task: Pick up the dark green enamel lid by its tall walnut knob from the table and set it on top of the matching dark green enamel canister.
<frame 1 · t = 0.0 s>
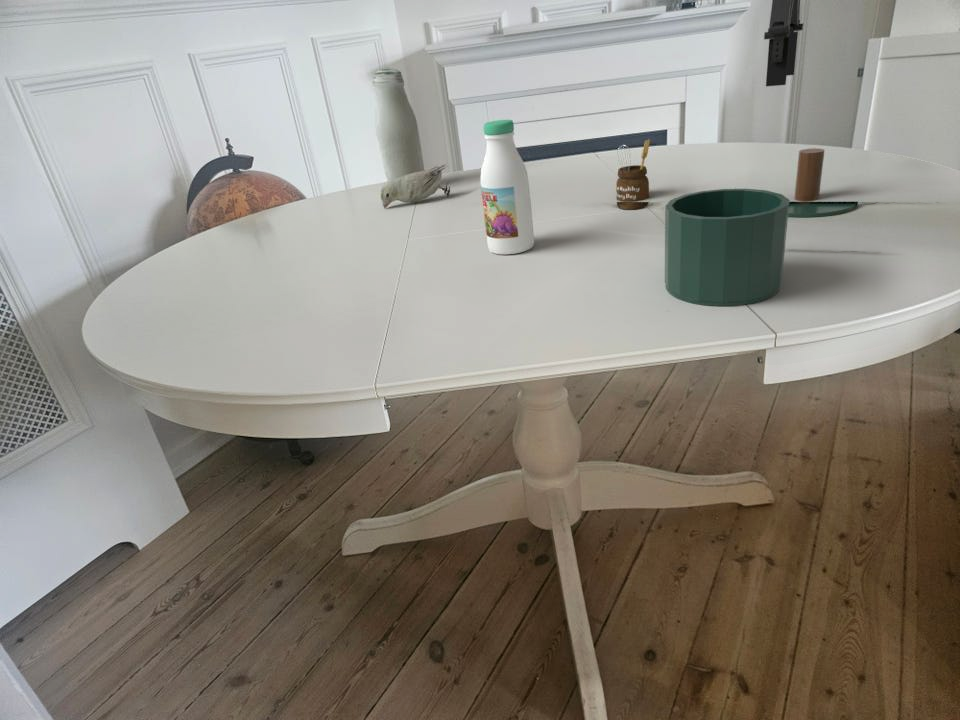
hand: (780, 80, 102), 19 cm above the table, tool pointing down, fingers open, 13 cm apart
milk bottle: (511, 249, 105), on the table
canister: (721, 285, 80), on the table
lid: (805, 204, 103), point 1 cm above the table
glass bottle: (407, 190, 159), on the table
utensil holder: (633, 207, 118), on the table
decorative bird: (417, 203, 145), on the table
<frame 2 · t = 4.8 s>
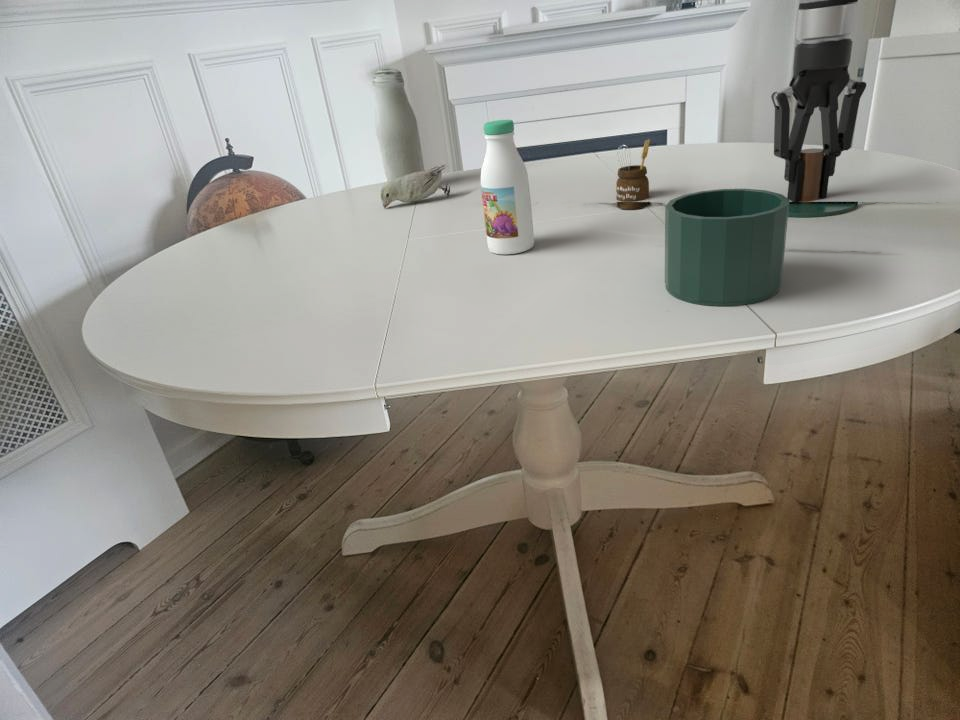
hand: (806, 198, 103), 2 cm above the table, tool pointing down, fingers closed on lid, 4 cm apart
lid: (805, 204, 103), point 1 cm above the table, touching gripper
everything else where it was.
when the fingers open (11 cm above the table, at t = 13.6 s): lid stays where it is, resting on canister.
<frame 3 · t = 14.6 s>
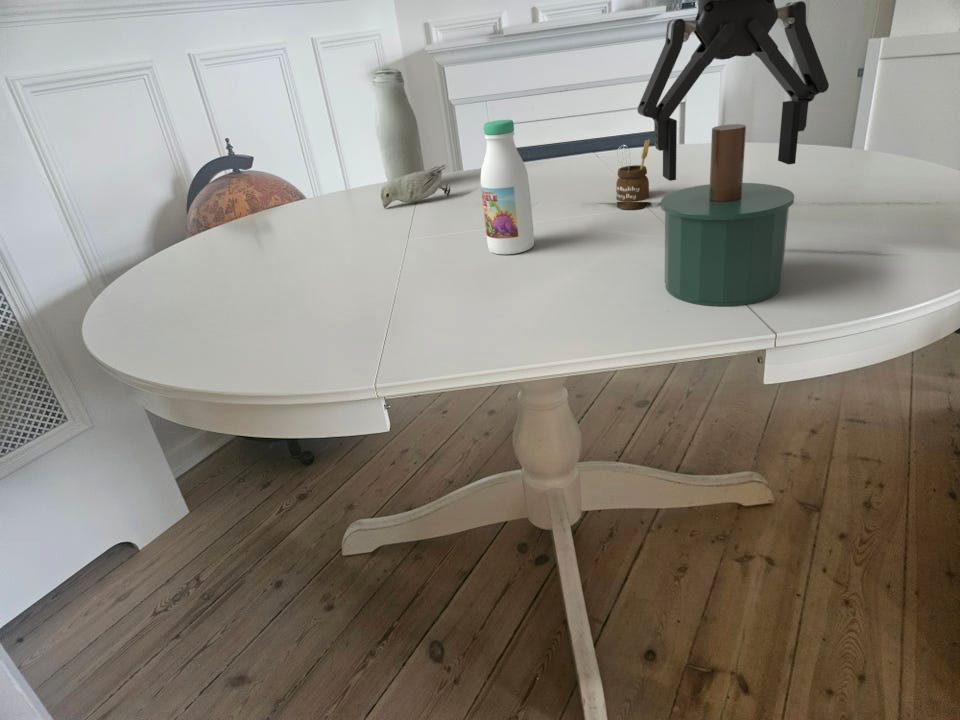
hand: (727, 170, 73), 14 cm above the table, tool pointing down, fingers open, 13 cm apart
lid: (725, 202, 75), point 10 cm above the table, touching canister
everything else where it was.
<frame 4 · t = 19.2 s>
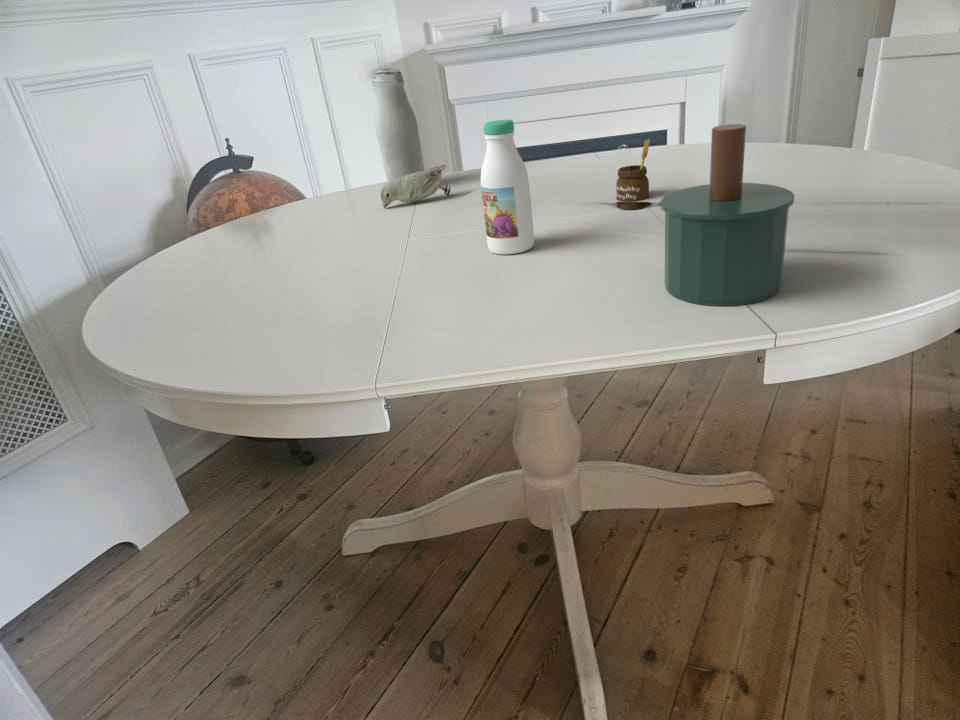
nothing on the table moved.
at the end: lid 0.1 cm off-centre on the canister, point 10.5 cm above the canister's base; lid tilted 0°; the gripper is holding nothing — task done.
